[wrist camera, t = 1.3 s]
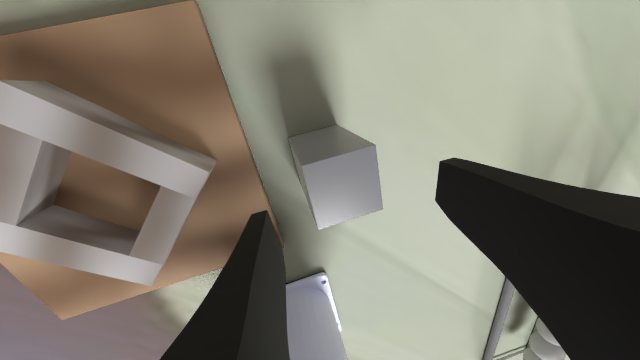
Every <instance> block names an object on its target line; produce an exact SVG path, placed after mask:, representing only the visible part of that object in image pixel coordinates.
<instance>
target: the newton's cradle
mask: <svg viewBox="0 0 640 360" xmlns="http://www.w3.org/2000/svg"><path fill="white" fill-rule="evenodd" d="M514 290H515V287H514V286H513V285H512V283H511V282H510V281H509V280H508V279H507V278H506V281H505V285H504V288H503V292H502V295H501V298H500V302H499V305H498V309H497V312H496V316H495V319H494V323H493V326H492V330H491V333H490V337H489V340H488V344H487V347H486V351H485V354H484V358H483V360H492V359H493V356H494V353H495V350H496V347H497V344H498V340H499V337H500V334H501V331H502V328H503V325H504V321H505V318H506V315H507V312H508V309H509V306H510V302H511V299H512V296H513V293H514ZM522 353H523V360H564V359H565V357H566V353H565V351H564V350H563V349H562V347H561V346H560V345H559V343H558V342H557V341H556V339H555V338H554V336H553V335H552V334H551V332H550V331H549V330H548V328H547V327H546V326H545V324H544V323H543V322H542V321H541V319H540V318H539V317H538V318H537V321H536V324H535V327H534V329H533V332H532V334H531V336H530V338H529V342H528V344H527V348H526V349H524V350H521V351H518V352H516V353H513V354H510V355H508V356H505V357H502V358H500V359H497V360H506V359H509V358H512V357H514V356H517V355H519V354H522Z"/></svg>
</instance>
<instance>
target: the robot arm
mask: <svg viewBox="0 0 640 360" xmlns="http://www.w3.org/2000/svg"><path fill="white" fill-rule="evenodd" d="M435 201H436V202H437V204H438V205H439V206H440V208H441V209H442V210H443V212H444V213H445V214H446V216H447V217H448V218H449V219H450V220H451V221H452V222H453V224H454V225H455V226H456V227H457V228H458V229H459V230H460V231H461V232H462V233H463V234H464V235H465V236H466V237H467V238H468V239H469V240H470V241H471V242H472V243H474V244H475V245H476V246H477V247H478V248H479V249H480V250H481V251H482V252H483V253H484V254H485V255H486V256H487V257H488V258H489V259H490V260H491V261H492V262H493V263H494V264H495V265H496V266H497V268H498V269H499V270H500V271H501V272H502V273H503V274H504V275H505V276H506V278H507V279H508V280H509V281H510V282H511V283H512V285H513V286H514V287H515V288H516V289H517V291H518V292H519V293H520V294H521V295H522V297H523V298H524V299H525V300H526V302H527V303H528V304H529V305H530V307H531V308H532V309H533V310H534V312H535V313H536V314H537V315H538V317H539V318H540V319H541V321H542V322H543V323H544V324H545V326H546V327H547V328H548V330H549V331H550V332H551V334H552V335H553V336H554V338H555V339H556V341H557V342H558V343H559V345H560V346H561V347H562V349H563V350H564V351H565V353H566V354H567V355H568V357H569V358H570V360H640V197H633V196H627V195H620V194H614V193H608V192H602V191H597V190H591V189H585V188H580V187H575V186H570V185H565V184H561V183H556V182H552V181H547V180H543V179H538V178H534V177H530V176H526V175H522V174H518V173H514V172H510V171H506V170H503V169H499V168H495V167H491V166H487V165H484V164H480V163H476V162H472V161H468V160H463V159H458V158H451V159H447V160H443V161H440V163H439V172H438V181H437V189H436V198H435ZM323 280H324V281H323ZM341 330H342V328H341V324H340V321H339V317H338V313H337V310H336V306H335V303H334V299H333V296H332V292H331V288H330V285H329V281H328V278H327V275H326V273H324V272H321V273H318V274H315V275H312V276H310V277H307V278H304V279H301V280H298V281H295V282H292V283H289V284H287V285H286V276H285V264H284V257H283V250H282V245H281V242H280V240H279V237H278V235H277V233H276V230H275V228H274V225H273V223H272V220H271V218H270V216H269V213H268V211H267V210H264V211H261V212H257V213H254V214H251V216H250V218H249V220H248V222H247V224H246V226H245V228H244V230H243V232H242V234H241V236H240V238H239V240H238V242H237V244H236V246H235V248H234V249H233V251H232V253H231V255H230V257H229V259H228V261H227V263H226V264H225V266H224V268H223V269H222V271H221V273H220V274H219V276H218V278H217V279H216V281H215V283H214V285H213V286H212V288H211V289H210V291H209V293H208V294H207V296H206V297H205V299H204V300H203V302H202V303H201V305H200V306H199V308H198V309H197V311H196V312H195V313H194V315H193V316H192V318H191V319H190V321H189V322H188V323H187V325H186V326H185V328H184V329H183V330H182V332H181V333H180V334H179V335H178V337H177V338H176V339H175V341H174V342H173V343H172V344H171V346H170V347H169V348H168V350H167V351H166V352H165V353H164V355H163V356H162V357H161V359H160V360H348V357H347V354H346V351H345V348H344V344H343V341H342V338H341V335H340V331H341Z"/></svg>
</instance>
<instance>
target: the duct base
mask: <svg viewBox="0 0 640 360" xmlns="http://www.w3.org/2000/svg"><path fill="white" fill-rule="evenodd" d="M264 210H267V211H268V213H269V216H270V218H271V220H272V223H273V225H274V228H275V230H276V233H277V235H278V237H279V240H280V242H281V245H282V248H284V246H283V239H282V237H281V234H280V231H279V228H278V226H277V223H276V220H275V217H274V214H273V212H272V209H271V206H270V203H269V201H268V198H267V195H266V192H265V189H264V187H263V184H262V181H261V178H260V176H259V173H258V170H257V167H256V164H255V162H254V159H253V156H252V153H251V150H250V148H249V145H248V142H247V139H246V137H245V134H244V131H243V128H242V125H241V123H240V120H239V117H238V114H237V112H236V109H235V106H234V103H233V100H232V98H231V95H230V92H229V89H228V87H227V84H226V81H225V78H224V75H223V73H222V70H221V67H220V64H219V61H218V59H217V56H216V53H215V50H214V48H213V45H212V42H211V39H210V36H209V34H208V31H207V28H206V25H205V23H204V20H203V17H202V14H201V11H200V9H199V6H198V4H197V3H196V2H195V1H194V0H189V1H184V2H179V3H173V4H168V5H163V6H157V7H152V8H147V9H141V10H136V11H130V12H125V13H120V14H114V15H109V16H104V17H98V18H93V19H88V20H82V21H77V22H72V23H66V24H61V25H56V26H50V27H45V28H40V29H34V30H29V31H23V32H18V33H13V34H7V35H2V36H0V263H1V264H2V265H3V266H4V267H5V268H7V269H8V270H9V271H10V272H11V273H12V274H13V275H14V276H15V277H16V278H17V279H18V280H19V281H20V282H22V283H23V284H24V285H25V286H26V287H27V288H28V289H29V290H30V291H31V292H32V293H33V294H34V295H35V296H37V297H38V298H39V299H40V300H41V301H42V302H43V303H44V304H45V305H46V306H47V307H48V308H49V309H51V310H52V311H53V312H54V313H55V314H56V315H57V316H58V317H59V318H60V319H61V320H64V319H67V318H70V317H73V316H76V315H79V314H82V313H85V312H88V311H91V310H94V309H97V308H100V307H103V306H106V305H109V304H112V303H116V302H119V301H122V300H125V299H128V298H131V297H134V296H137V295H140V294H143V293H146V292H149V291H152V290H155V289H158V288H161V287H164V286H167V285H171V284H174V283H177V282H180V281H183V280H186V279H189V278H192V277H195V276H198V275H201V274H204V273H207V272H210V271H213V270H216V269H219V268H223V267H224V266H225V264H226V263H227V261H228V259H229V257H230V255H231V253H232V251H233V249H234V248H235V246H236V244H237V242H238V240H239V238H240V236H241V234H242V232H243V230H244V228H245V226H246V224H247V222H248V220H249V218H250V216H251V214H254V213H257V212H261V211H264Z"/></svg>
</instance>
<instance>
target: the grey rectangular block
mask: <svg viewBox="0 0 640 360" xmlns="http://www.w3.org/2000/svg"><path fill="white" fill-rule="evenodd" d="M288 139H289V143H290V147H291V150H292V154H293V157H294V161H295V164H296V168H297V172H298V175H299V179H300V182H301V185H302V188H303V190H304V193H305V196H306V198H307V201H308V204H309V206H310V209H311V211H312V214H313V217H314V219H315V222H316V225H317V227H318V230H320V229H323V228H326V227H330V226H333V225H336V224H339V223H342V222H345V221H348V220H351V219H354V218H357V217H360V216H364V215H367V214H370V213H373V212H376V211H379V210H382V209H383V204H382V196H381V187H380V179H379V170H378V162H377V153H376V145H375V144H373V143H371V142H369V141H367V140H365V139H363V138H361V137H359V136H357V135H356V134H354V133H352V132H350V131H348V130H346V129H344V128H342V127H340V126H338V125H334V126H330V127H326V128H323V129H319V130H315V131H311V132H308V133H304V134H300V135H297V136H293V137H289V138H288Z"/></svg>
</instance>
